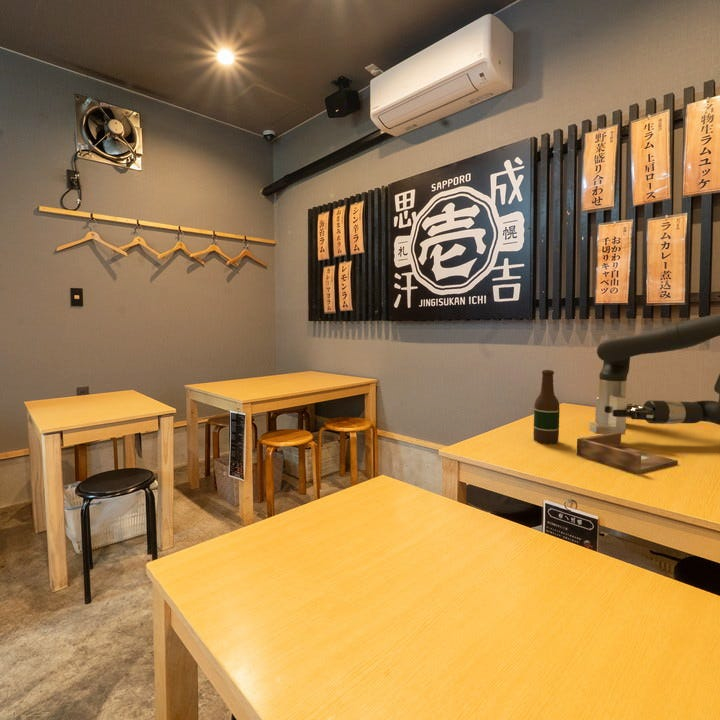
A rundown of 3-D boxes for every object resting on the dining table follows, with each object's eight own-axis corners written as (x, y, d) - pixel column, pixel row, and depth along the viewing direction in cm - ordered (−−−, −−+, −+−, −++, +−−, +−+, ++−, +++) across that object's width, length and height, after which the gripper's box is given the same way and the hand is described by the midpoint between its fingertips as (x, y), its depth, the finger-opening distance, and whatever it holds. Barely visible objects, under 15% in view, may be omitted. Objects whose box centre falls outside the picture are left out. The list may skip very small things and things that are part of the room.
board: (576, 455, 129) (576, 451, 128) (616, 447, 136) (616, 444, 136) (636, 474, 112) (636, 470, 112) (677, 464, 120) (677, 460, 120)
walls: (576, 451, 129) (577, 438, 128) (616, 444, 136) (616, 432, 136) (636, 470, 112) (637, 455, 112) (677, 460, 120) (678, 446, 119)
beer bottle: (557, 439, 146) (559, 369, 144) (559, 445, 139) (562, 371, 137) (532, 437, 149) (534, 368, 147) (534, 443, 141) (535, 371, 139)
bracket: (617, 430, 143) (619, 395, 142) (625, 434, 138) (627, 397, 137) (589, 429, 144) (590, 394, 143) (595, 433, 139) (597, 397, 138)
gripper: (651, 396, 146) (599, 395, 147) (678, 405, 131) (620, 404, 133) (650, 418, 146) (598, 417, 148) (677, 429, 132) (619, 428, 134)
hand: (609, 411), depth 140 cm, fingers closed on bracket, 5 cm apart
